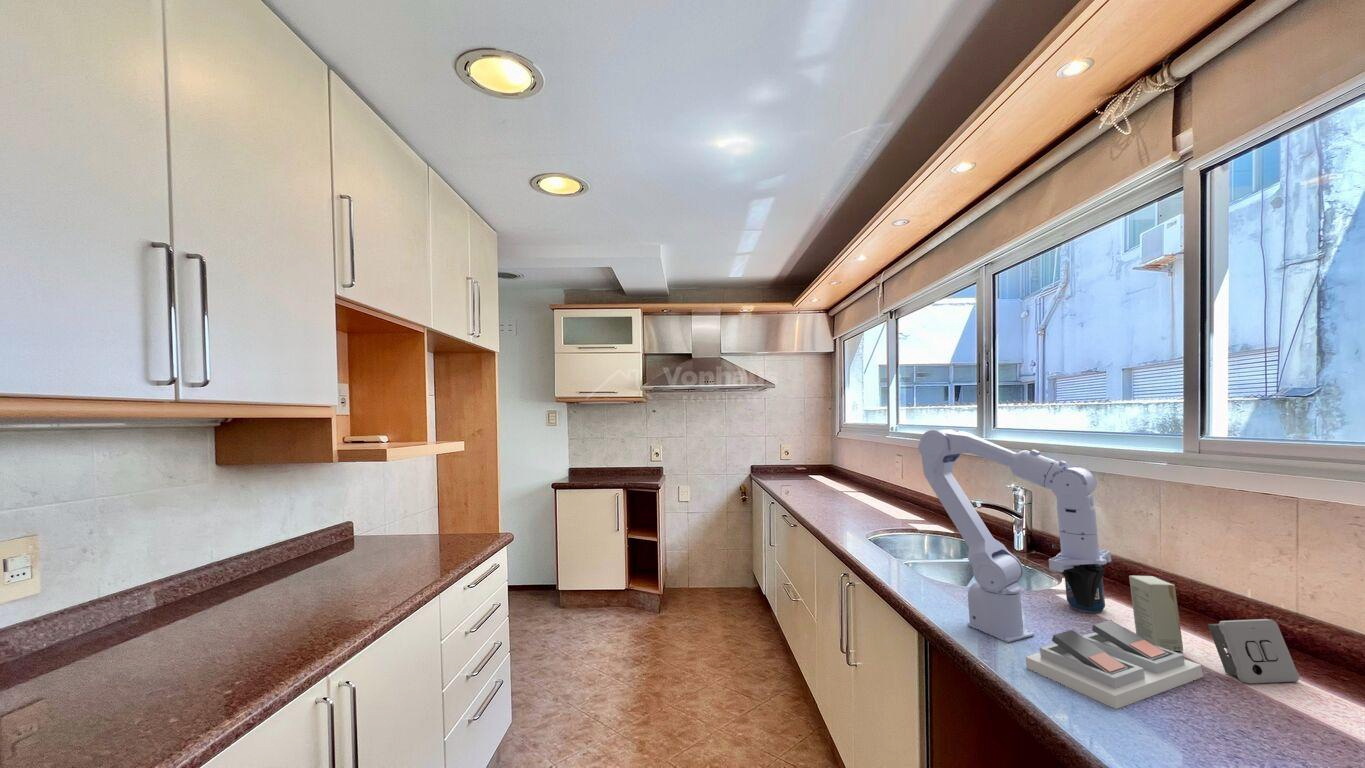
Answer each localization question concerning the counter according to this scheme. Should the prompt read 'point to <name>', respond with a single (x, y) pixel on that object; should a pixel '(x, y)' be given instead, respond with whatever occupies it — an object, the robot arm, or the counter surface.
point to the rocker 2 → (1128, 640)
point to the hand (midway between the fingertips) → (1084, 605)
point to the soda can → (1098, 602)
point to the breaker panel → (1120, 686)
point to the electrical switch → (1254, 651)
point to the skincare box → (1156, 612)
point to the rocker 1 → (1088, 652)
